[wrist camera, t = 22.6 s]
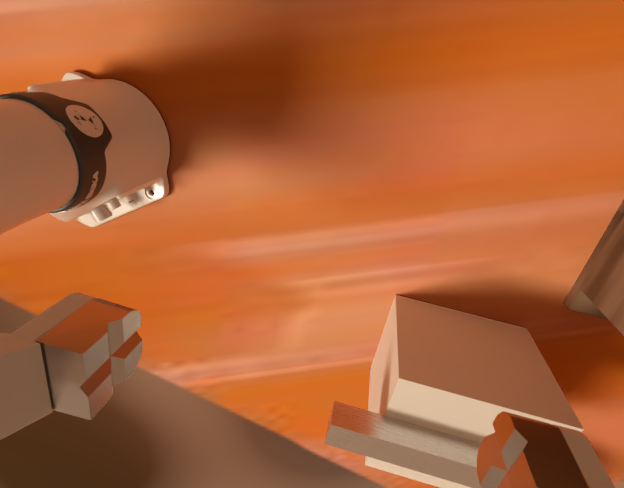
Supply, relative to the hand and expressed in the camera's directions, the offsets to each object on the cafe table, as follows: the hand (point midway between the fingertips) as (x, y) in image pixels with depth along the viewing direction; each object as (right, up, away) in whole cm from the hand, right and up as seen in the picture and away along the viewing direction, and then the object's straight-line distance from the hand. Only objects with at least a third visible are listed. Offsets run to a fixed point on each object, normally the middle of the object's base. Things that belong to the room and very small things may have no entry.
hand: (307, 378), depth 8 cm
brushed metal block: (+15, -18, +31) cm, 39 cm away
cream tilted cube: (+19, -12, +45) cm, 51 cm away
